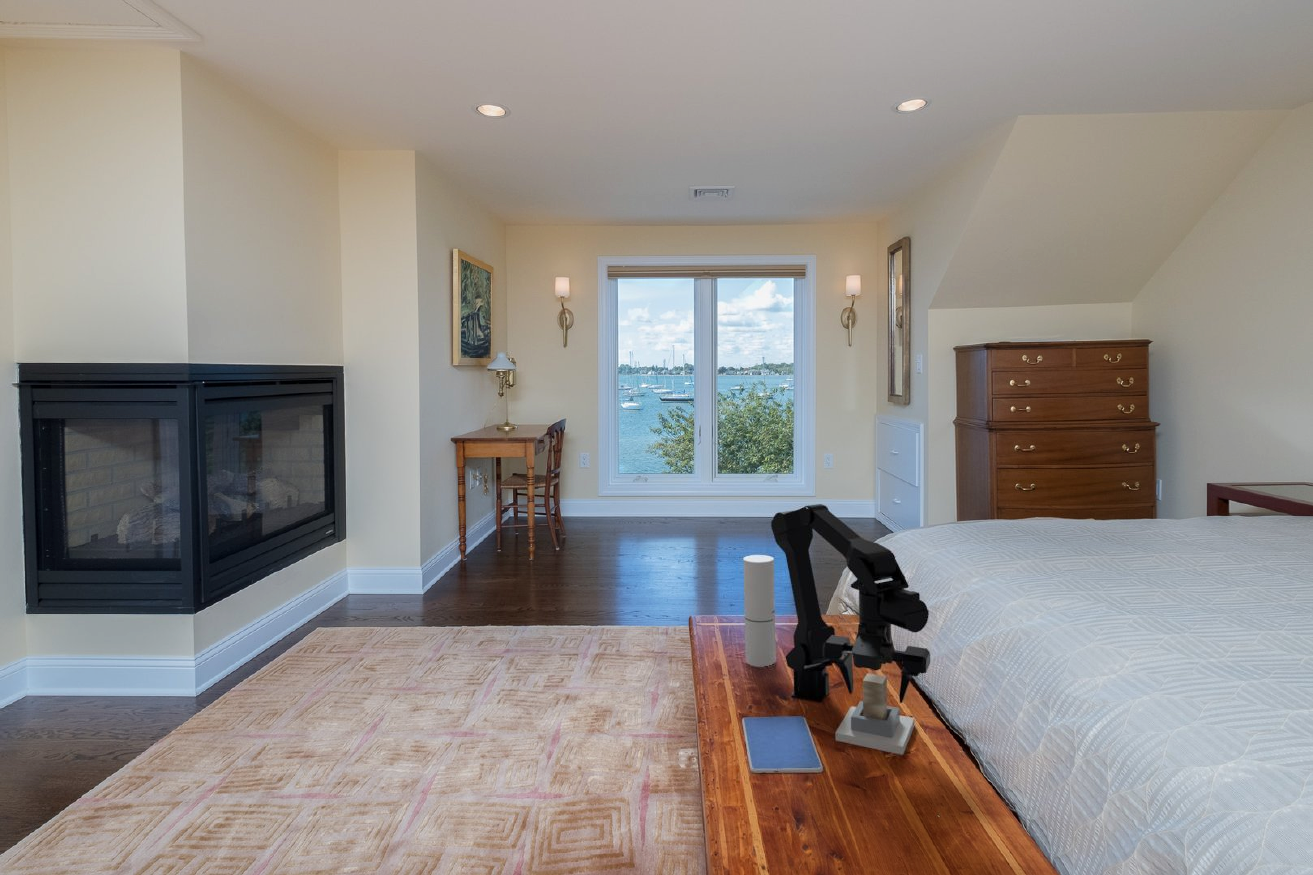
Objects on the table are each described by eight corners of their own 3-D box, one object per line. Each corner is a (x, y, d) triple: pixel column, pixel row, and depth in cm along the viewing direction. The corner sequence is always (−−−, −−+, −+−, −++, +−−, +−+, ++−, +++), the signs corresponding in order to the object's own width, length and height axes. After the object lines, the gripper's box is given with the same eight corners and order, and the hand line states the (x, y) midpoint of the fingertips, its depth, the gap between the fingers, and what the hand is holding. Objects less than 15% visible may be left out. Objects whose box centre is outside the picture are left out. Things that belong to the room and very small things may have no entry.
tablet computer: (824, 775, 122) (824, 767, 122) (750, 776, 122) (750, 768, 122) (805, 721, 141) (805, 715, 141) (741, 722, 142) (741, 716, 142)
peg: (863, 726, 134) (862, 680, 133) (867, 718, 137) (867, 673, 137) (882, 730, 132) (882, 683, 132) (887, 722, 135) (886, 676, 135)
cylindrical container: (780, 658, 172) (778, 556, 170) (769, 668, 166) (766, 563, 164) (752, 653, 176) (750, 553, 174) (741, 663, 170) (738, 560, 168)
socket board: (835, 740, 132) (835, 719, 132) (851, 713, 143) (851, 693, 143) (902, 754, 127) (902, 733, 126) (914, 725, 137) (914, 705, 137)
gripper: (813, 622, 130) (814, 705, 132) (920, 637, 121) (921, 726, 123) (829, 605, 140) (831, 682, 141) (930, 617, 131) (930, 700, 132)
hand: (875, 697), depth 134 cm, fingers open, 9 cm apart
